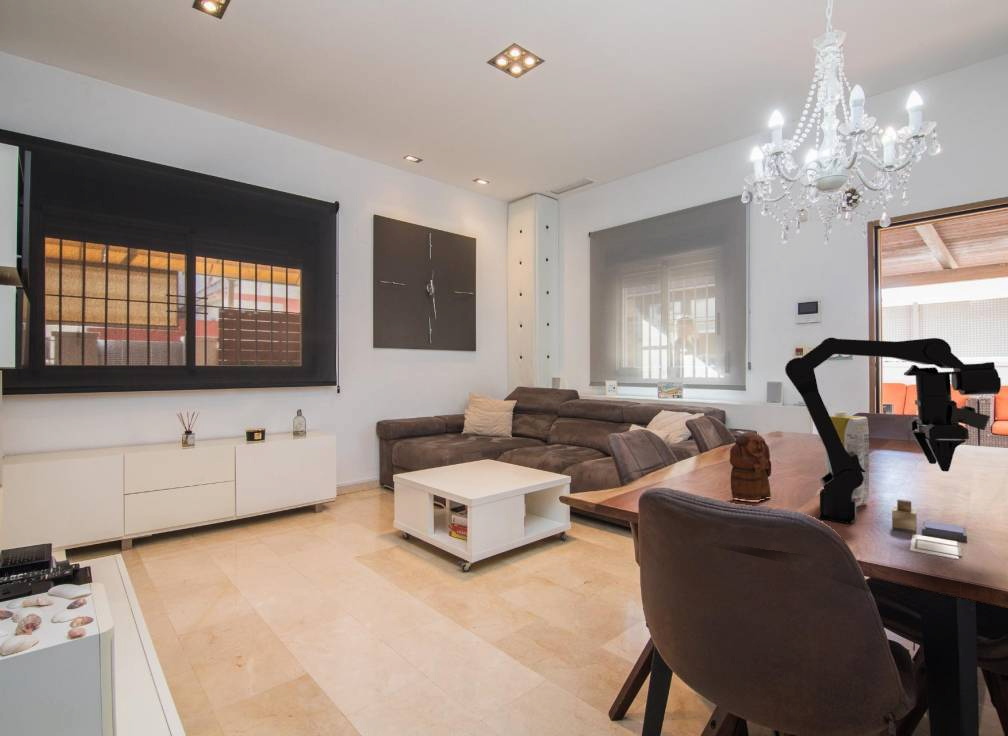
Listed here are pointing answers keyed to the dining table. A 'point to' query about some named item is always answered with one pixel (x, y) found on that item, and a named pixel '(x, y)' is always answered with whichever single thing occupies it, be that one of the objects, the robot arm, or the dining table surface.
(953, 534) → the pad
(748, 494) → the wooden figurine
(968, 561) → the dining table surface
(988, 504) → the dining table surface
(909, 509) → the stamp
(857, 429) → the juice carton
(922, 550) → the white rectangular plate
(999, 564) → the dining table surface
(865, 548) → the dining table surface
